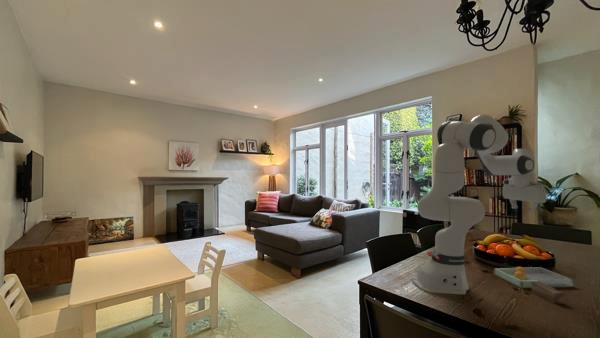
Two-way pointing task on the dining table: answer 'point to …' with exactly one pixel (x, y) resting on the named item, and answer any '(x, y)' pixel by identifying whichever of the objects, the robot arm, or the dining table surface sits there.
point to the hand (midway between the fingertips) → (523, 209)
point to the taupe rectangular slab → (547, 292)
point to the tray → (512, 278)
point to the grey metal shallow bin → (546, 277)
